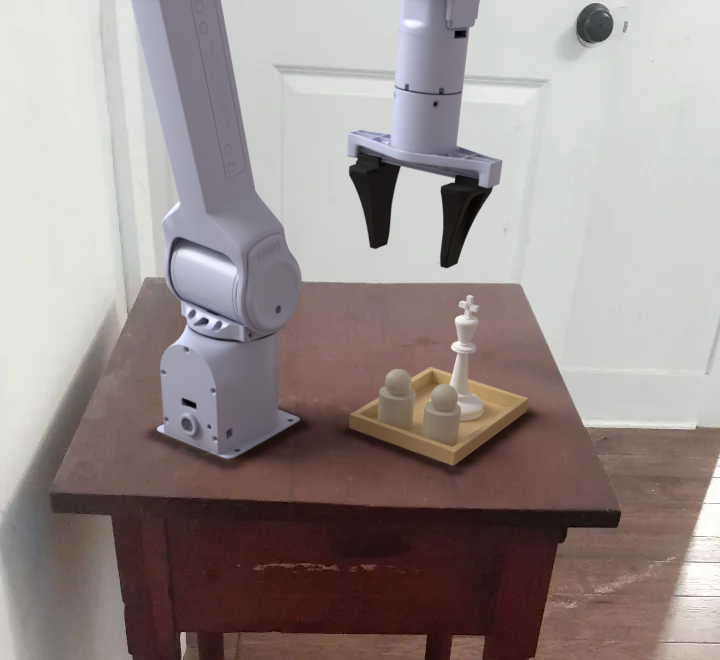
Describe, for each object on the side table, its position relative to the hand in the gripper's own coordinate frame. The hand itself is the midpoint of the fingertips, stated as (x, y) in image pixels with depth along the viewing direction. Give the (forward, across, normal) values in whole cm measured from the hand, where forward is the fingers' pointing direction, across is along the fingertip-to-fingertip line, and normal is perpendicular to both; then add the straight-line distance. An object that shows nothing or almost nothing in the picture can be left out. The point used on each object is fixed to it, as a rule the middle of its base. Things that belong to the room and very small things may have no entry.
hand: (413, 255), depth 90 cm
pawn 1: (+9, -8, +14) cm, 19 cm away
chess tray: (+10, -10, +10) cm, 17 cm away
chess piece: (+10, -10, +7) cm, 16 cm away
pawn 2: (+9, -12, +14) cm, 21 cm away
